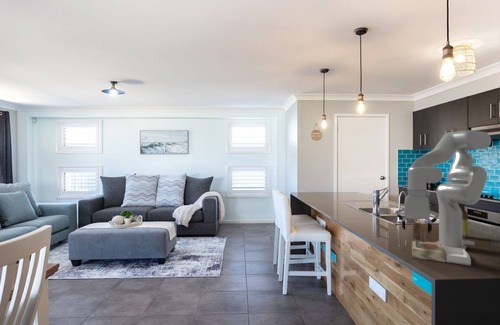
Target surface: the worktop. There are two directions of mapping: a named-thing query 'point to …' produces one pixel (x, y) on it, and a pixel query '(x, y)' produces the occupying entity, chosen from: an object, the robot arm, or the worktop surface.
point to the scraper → (417, 234)
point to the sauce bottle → (464, 221)
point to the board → (428, 252)
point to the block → (431, 245)
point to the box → (457, 256)
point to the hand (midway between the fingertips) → (416, 230)
